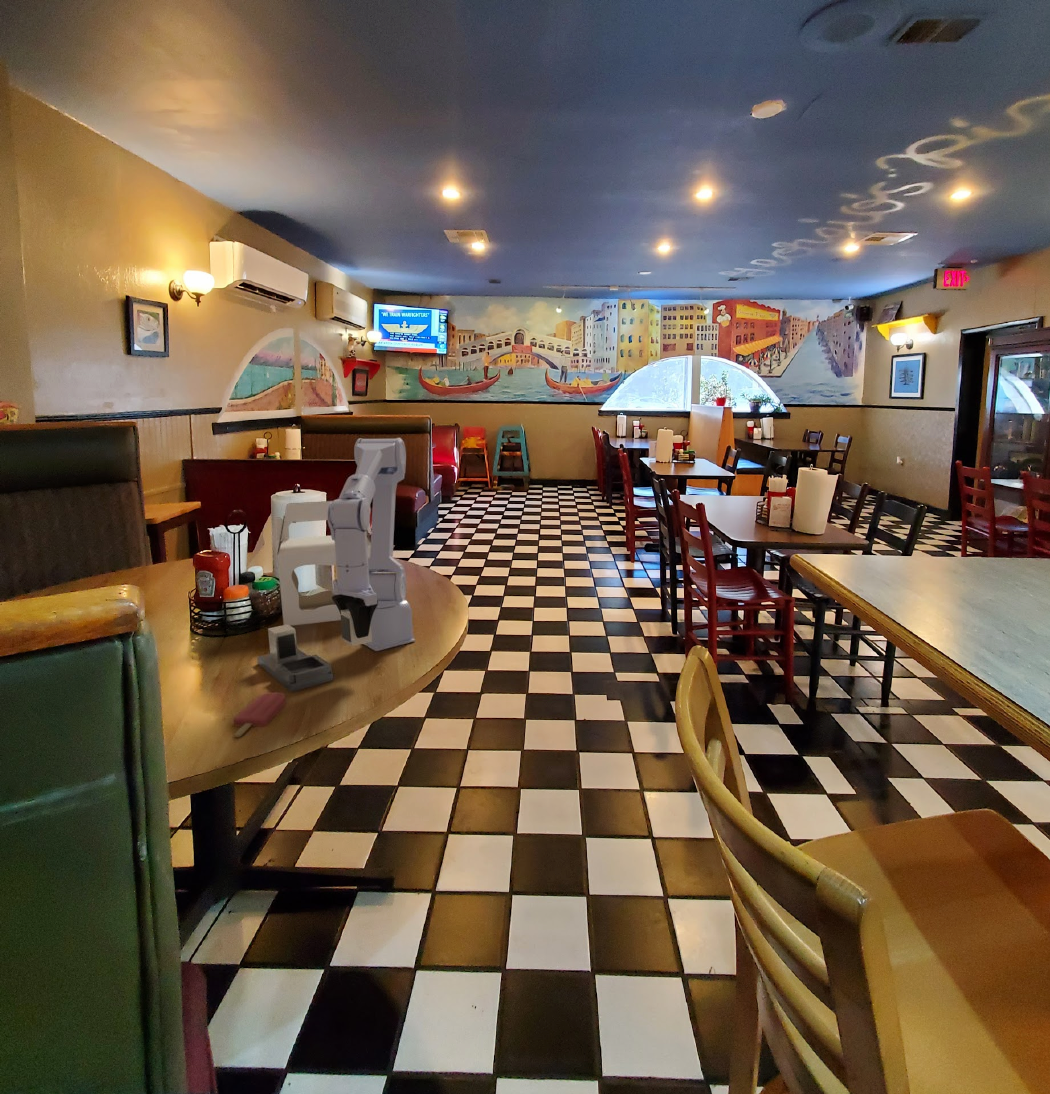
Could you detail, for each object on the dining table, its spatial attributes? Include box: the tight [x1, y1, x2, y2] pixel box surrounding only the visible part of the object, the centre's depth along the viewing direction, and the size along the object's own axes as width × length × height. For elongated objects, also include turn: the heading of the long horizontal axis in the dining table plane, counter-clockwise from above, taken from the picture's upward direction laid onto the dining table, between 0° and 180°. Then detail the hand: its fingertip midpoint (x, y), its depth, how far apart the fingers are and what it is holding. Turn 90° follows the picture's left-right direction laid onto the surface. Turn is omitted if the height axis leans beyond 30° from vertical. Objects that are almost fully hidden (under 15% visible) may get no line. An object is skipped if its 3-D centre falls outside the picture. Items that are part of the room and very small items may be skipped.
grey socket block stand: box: [256, 624, 334, 693], centre depth 132 cm, size 8×18×8 cm, turn 39°
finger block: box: [340, 609, 372, 647], centre depth 129 cm, size 4×4×6 cm
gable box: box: [274, 500, 376, 627], centre depth 167 cm, size 22×13×28 cm, turn 109°
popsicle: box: [233, 691, 287, 738], centre depth 114 cm, size 5×2×15 cm
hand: (357, 633), depth 129 cm, fingers closed on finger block, 4 cm apart
